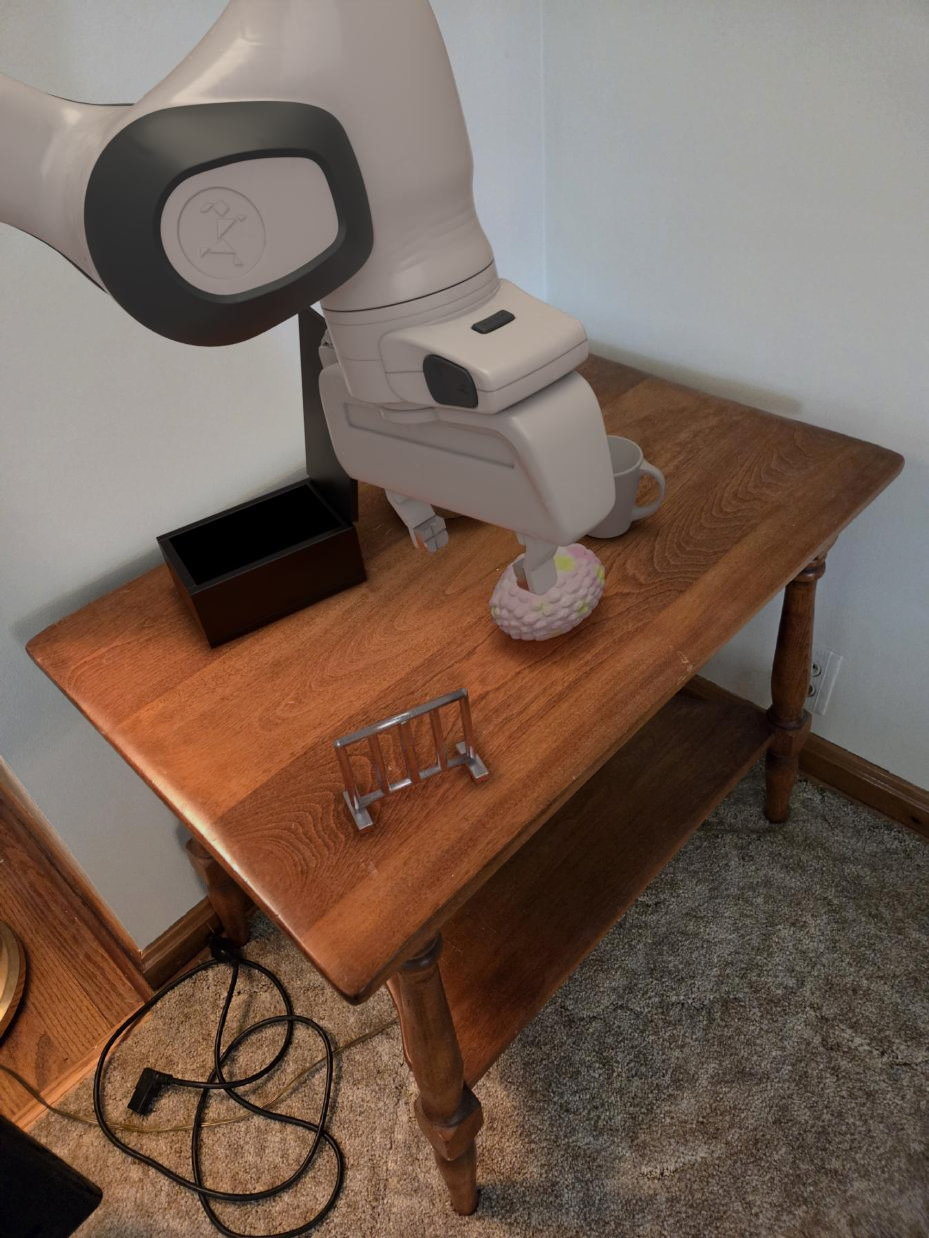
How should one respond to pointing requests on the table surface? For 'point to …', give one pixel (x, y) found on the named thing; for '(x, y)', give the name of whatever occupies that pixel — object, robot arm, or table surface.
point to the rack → (408, 754)
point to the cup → (627, 487)
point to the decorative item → (550, 597)
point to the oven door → (321, 421)
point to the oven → (263, 560)
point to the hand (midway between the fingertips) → (482, 565)
